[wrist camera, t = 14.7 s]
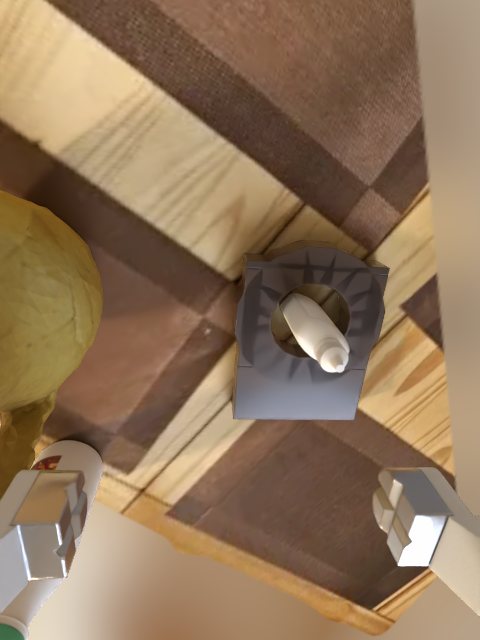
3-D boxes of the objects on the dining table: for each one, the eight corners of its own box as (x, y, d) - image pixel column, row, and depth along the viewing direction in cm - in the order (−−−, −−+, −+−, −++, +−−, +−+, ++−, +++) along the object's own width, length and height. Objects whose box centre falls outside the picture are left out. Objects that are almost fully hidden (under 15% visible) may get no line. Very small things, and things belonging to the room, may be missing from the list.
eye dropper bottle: (314, 281, 39) (357, 328, 28) (329, 326, 41) (374, 386, 30) (275, 297, 39) (303, 350, 28) (292, 341, 42) (324, 405, 31)
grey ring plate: (238, 236, 37) (241, 242, 34) (385, 245, 38) (399, 252, 35) (226, 403, 44) (228, 419, 41) (349, 404, 46) (359, 420, 43)
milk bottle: (95, 433, 44) (18, 626, 26) (111, 481, 47) (52, 684, 29) (29, 442, 44) (-96, 644, 26) (49, 490, 47) (-50, 701, 29)
